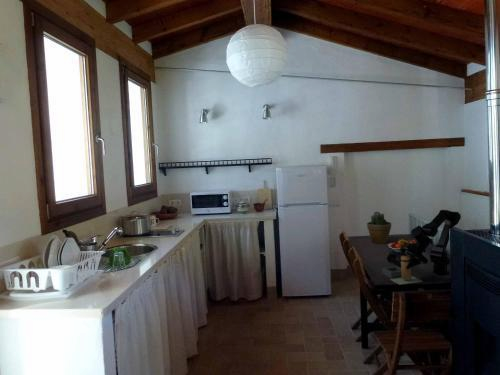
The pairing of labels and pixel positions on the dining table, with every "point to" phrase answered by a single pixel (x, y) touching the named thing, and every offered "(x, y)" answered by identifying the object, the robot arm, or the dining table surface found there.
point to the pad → (403, 281)
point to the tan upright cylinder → (405, 272)
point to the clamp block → (392, 272)
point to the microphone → (393, 260)
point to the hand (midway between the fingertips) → (403, 267)
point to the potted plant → (379, 228)
